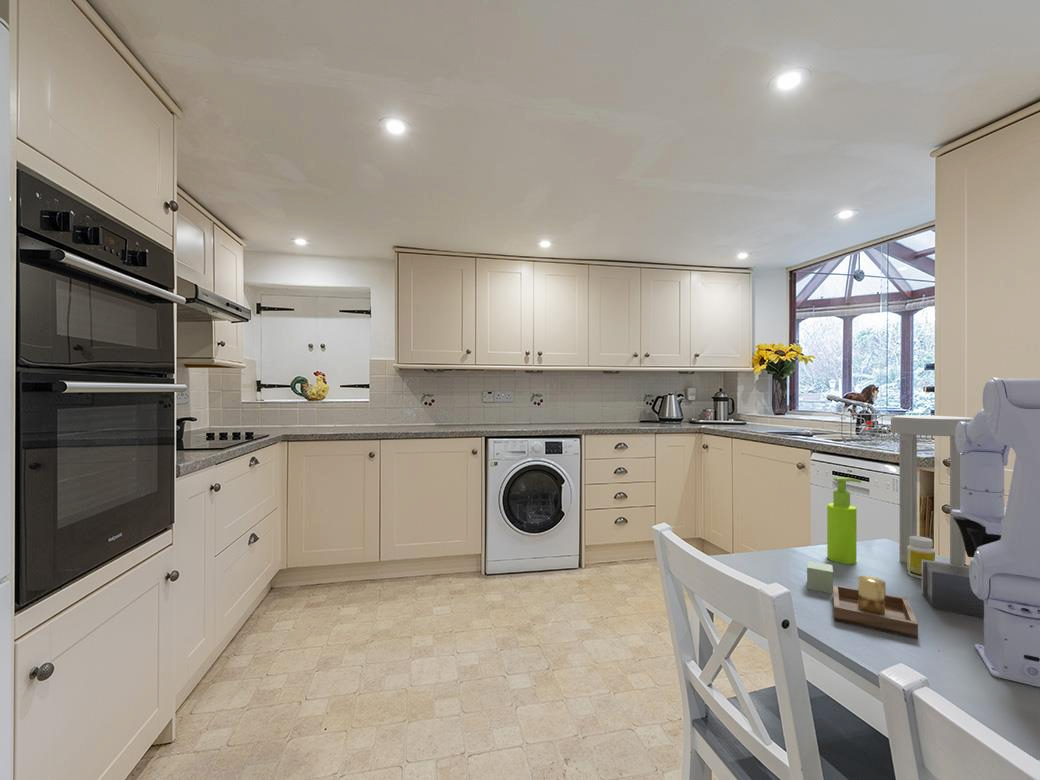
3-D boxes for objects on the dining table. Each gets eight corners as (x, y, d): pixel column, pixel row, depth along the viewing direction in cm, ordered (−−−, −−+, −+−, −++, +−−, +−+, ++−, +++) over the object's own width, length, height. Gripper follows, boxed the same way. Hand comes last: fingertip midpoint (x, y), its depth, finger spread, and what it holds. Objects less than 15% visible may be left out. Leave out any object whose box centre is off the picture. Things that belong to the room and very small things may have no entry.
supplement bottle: (940, 581, 102) (940, 542, 102) (915, 579, 103) (915, 541, 103) (926, 572, 107) (926, 535, 107) (902, 571, 108) (902, 534, 108)
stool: (887, 561, 114) (887, 416, 113) (896, 546, 124) (896, 414, 124) (976, 579, 103) (976, 419, 103) (977, 561, 114) (977, 416, 114)
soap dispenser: (866, 564, 111) (866, 480, 111) (834, 563, 112) (834, 479, 112) (853, 556, 117) (852, 476, 117) (822, 554, 118) (822, 475, 118)
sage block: (832, 593, 96) (833, 571, 96) (807, 588, 98) (807, 567, 98) (832, 586, 100) (832, 564, 100) (807, 581, 102) (807, 560, 102)
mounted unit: (994, 620, 85) (994, 581, 85) (928, 607, 90) (928, 570, 90) (981, 604, 91) (981, 567, 91) (921, 593, 96) (921, 558, 96)
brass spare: (886, 620, 84) (887, 586, 83) (858, 614, 86) (859, 581, 86) (883, 611, 87) (884, 578, 87) (856, 605, 89) (857, 573, 89)
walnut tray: (918, 639, 78) (918, 624, 78) (834, 620, 84) (834, 606, 84) (907, 611, 88) (907, 598, 88) (832, 596, 94) (832, 584, 94)
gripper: (942, 480, 93) (942, 548, 93) (963, 494, 81) (963, 573, 81) (991, 483, 90) (991, 554, 90) (1021, 499, 77) (1020, 581, 77)
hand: (981, 564), depth 85 cm, fingers open, 7 cm apart
